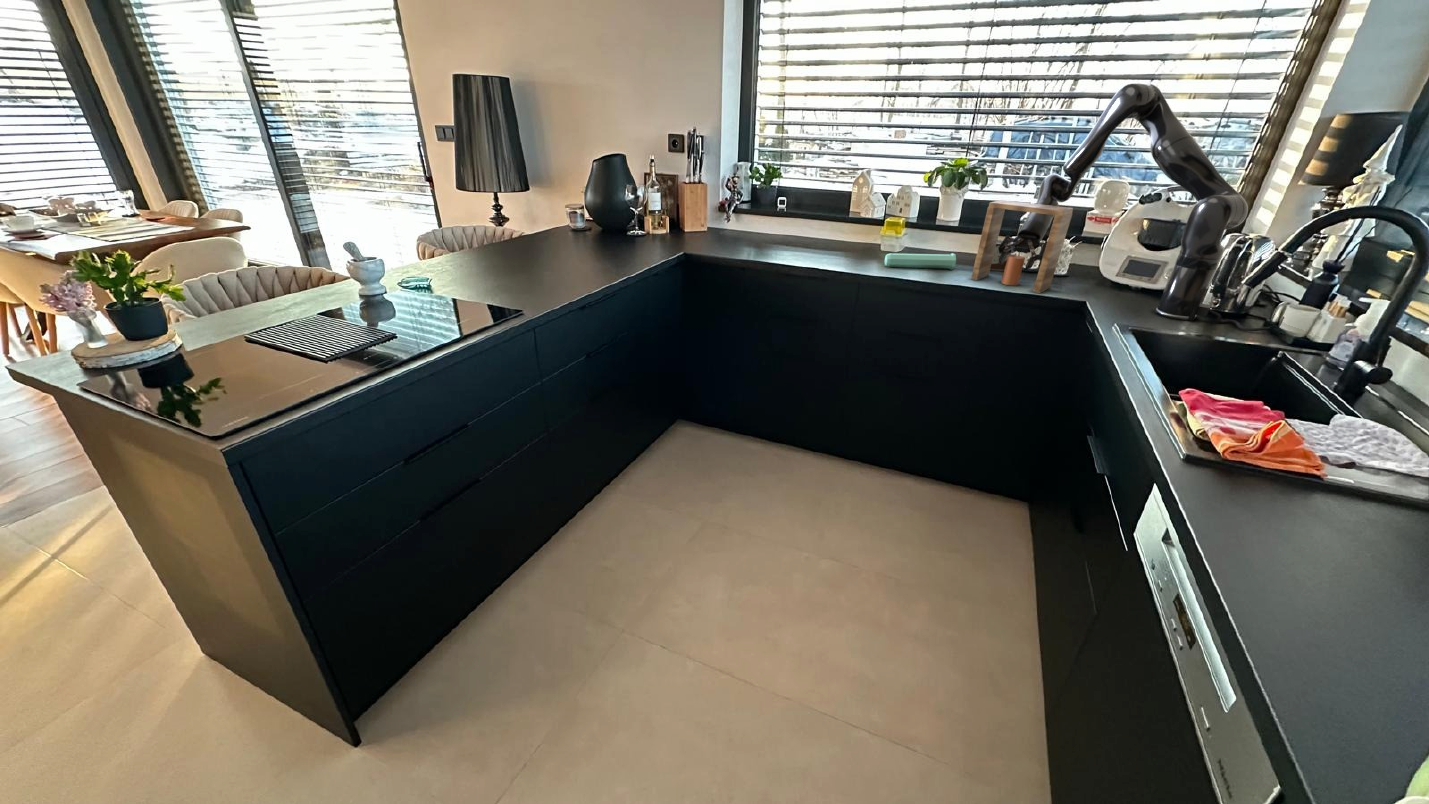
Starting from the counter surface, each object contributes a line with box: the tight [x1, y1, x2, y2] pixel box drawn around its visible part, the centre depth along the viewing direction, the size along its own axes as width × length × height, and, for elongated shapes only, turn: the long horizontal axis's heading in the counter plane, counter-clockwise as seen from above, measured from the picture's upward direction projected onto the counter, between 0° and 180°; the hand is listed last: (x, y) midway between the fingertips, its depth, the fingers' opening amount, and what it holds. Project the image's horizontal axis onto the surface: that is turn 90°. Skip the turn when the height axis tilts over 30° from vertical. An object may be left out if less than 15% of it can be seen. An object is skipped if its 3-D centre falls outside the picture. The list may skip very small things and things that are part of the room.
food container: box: [990, 239, 1015, 272], centre depth 207 cm, size 12×6×10 cm, turn 84°
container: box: [884, 252, 957, 271], centre depth 206 cm, size 6×6×25 cm
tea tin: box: [1000, 254, 1026, 287], centre depth 188 cm, size 5×5×9 cm
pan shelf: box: [970, 199, 1074, 294], centre depth 184 cm, size 22×10×26 cm, turn 44°
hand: (1013, 265), depth 186 cm, fingers open, 8 cm apart
